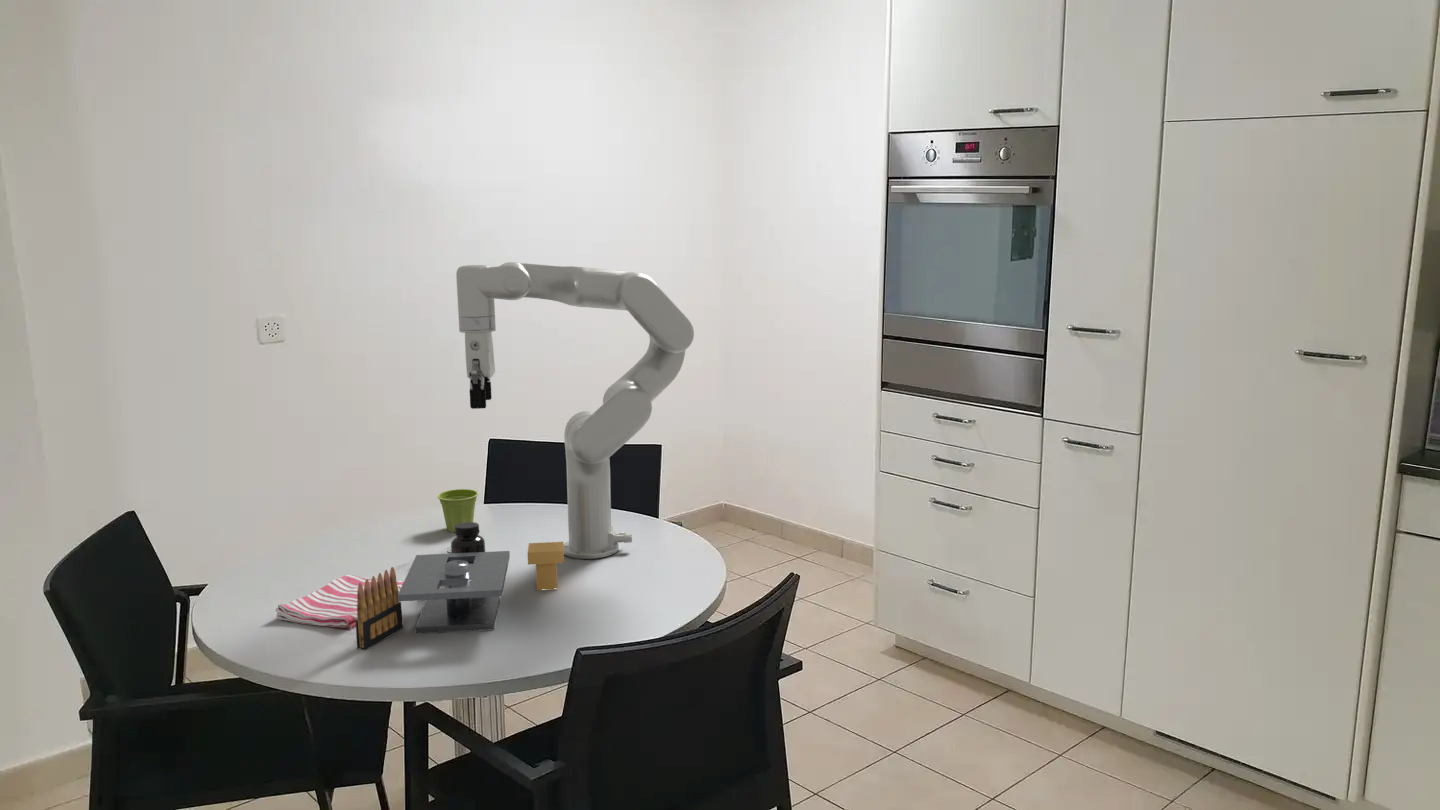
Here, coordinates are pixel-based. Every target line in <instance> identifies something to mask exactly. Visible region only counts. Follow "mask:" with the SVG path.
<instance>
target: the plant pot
mask: <svg viewBox="0 0 1440 810" xmlns="http://www.w3.org/2000/svg"><path fill="white" fill-rule="evenodd" d="M478 496H479V492H478V491H477V490H475V489H471V488H470V489H469V488H457V489H450V490H449V489H448V490H446V491H442V492H440V493H438V494H437V499H438V500H439V502H440V504H441V508H442V512H443V517H444V522H445V526H446V530H447V531H449V532H451V533H455V526H456V525H457V524H460V523H465V522H474V517H475V507H476V502H477V497H478Z"/></svg>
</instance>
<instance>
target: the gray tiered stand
mask: <svg viewBox="0 0 1440 810" xmlns="http://www.w3.org/2000/svg"><path fill="white" fill-rule="evenodd" d="M510 554H511V553H510V550H501V551H500V550H499V551H485V552H473V553H435V554H433V553H432V554H416V555H415V557H414V560H413V561H412V564H411V566H410V568H409V570H408V572H407V574H406V576H405V579H404V583H403V585H402V587H401V589H400V591H399V594H398V602H413V601H414V602H415V601H417V602H419V601H424V604H423V607H422V609H421V612H420V615H419V616H418V619H417V622H416V625H415V628H414V629H415V634H416V635H418V634H434V633H453V632H470V631H471V632H472V631H473V632H474V631H491V630H495V627H496V622H497V617H498V613H499V607H500V602H501V601H500V600H501V599H500V597H503V592H504V588H505V583H506V577H507V573H508V572H507V571H508V568H509V561H510V556H511V555H510ZM468 562H474V563H473V564H469V563H468ZM441 587H445V588H441Z"/></svg>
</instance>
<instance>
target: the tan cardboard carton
mask: <svg viewBox="0 0 1440 810" xmlns="http://www.w3.org/2000/svg"><path fill="white" fill-rule="evenodd" d="M564 544H565V543H564V541H552V542H548V541H547V542H529V543H528V547H527V565H535V571H536V573H535V574H536V576H535V577H536V591H543V590H542V589H554V588H557V589H558V569H557V568H558V565H557V564H564V561H565V560H564V558H565V557H564V556H565V554H564Z"/></svg>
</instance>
